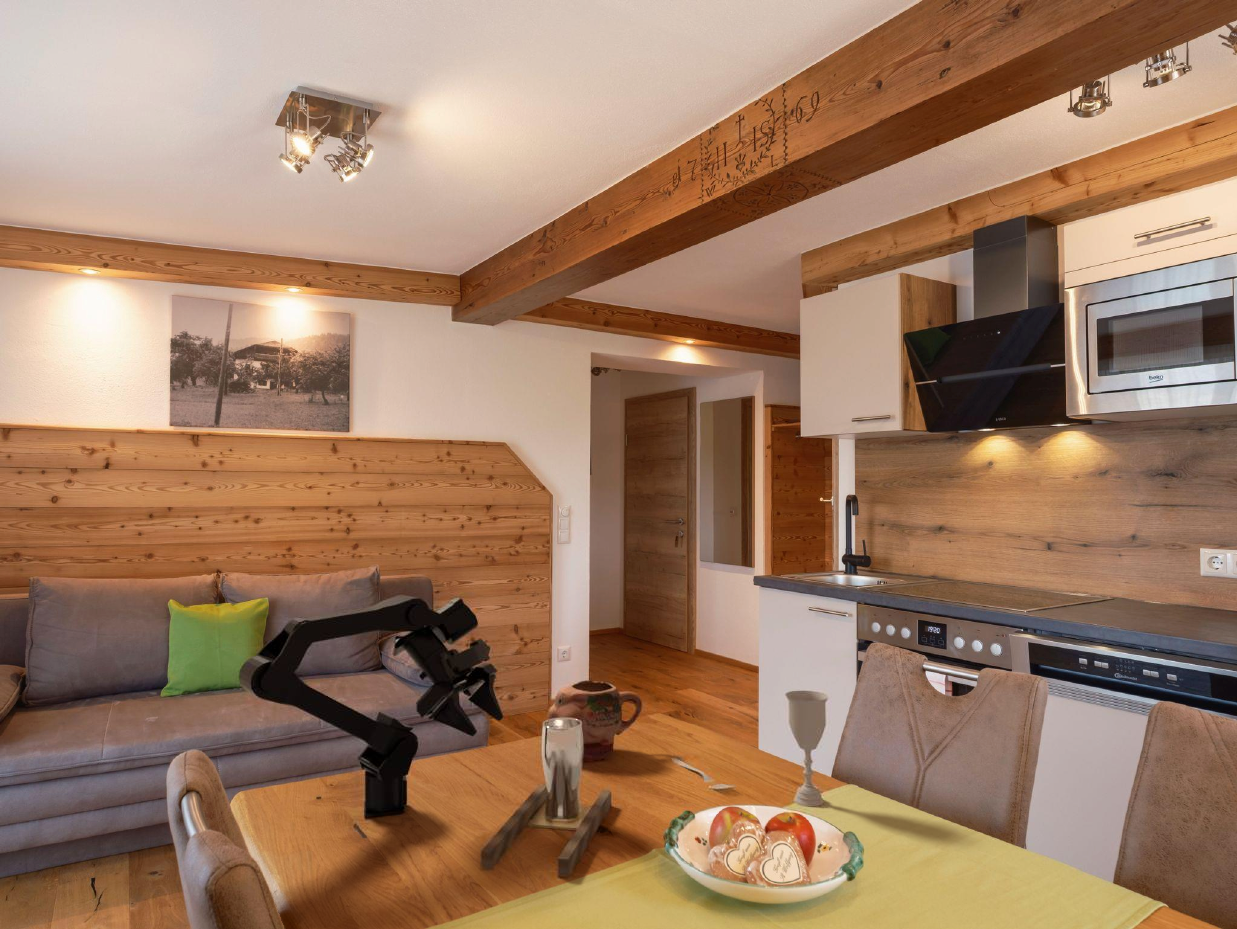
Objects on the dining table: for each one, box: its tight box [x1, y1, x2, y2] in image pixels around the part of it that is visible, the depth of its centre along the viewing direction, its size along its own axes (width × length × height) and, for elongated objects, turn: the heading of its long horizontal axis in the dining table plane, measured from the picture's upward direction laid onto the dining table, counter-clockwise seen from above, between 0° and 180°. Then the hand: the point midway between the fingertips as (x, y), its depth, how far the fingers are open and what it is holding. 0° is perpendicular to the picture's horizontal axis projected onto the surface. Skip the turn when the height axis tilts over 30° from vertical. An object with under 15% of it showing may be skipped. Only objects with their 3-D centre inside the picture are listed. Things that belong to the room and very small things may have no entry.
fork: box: [671, 757, 737, 790], centre depth 152 cm, size 3×24×2 cm, turn 25°
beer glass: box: [541, 717, 584, 822], centre depth 132 cm, size 7×7×15 cm
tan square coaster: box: [526, 802, 593, 832], centre depth 132 cm, size 9×10×1 cm
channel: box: [480, 784, 612, 878], centre depth 125 cm, size 26×13×2 cm, turn 167°
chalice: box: [785, 690, 829, 807], centre depth 138 cm, size 7×7×18 cm
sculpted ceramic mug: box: [547, 680, 643, 762], centre depth 164 cm, size 20×12×14 cm, turn 113°
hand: (488, 726), depth 137 cm, fingers open, 9 cm apart
